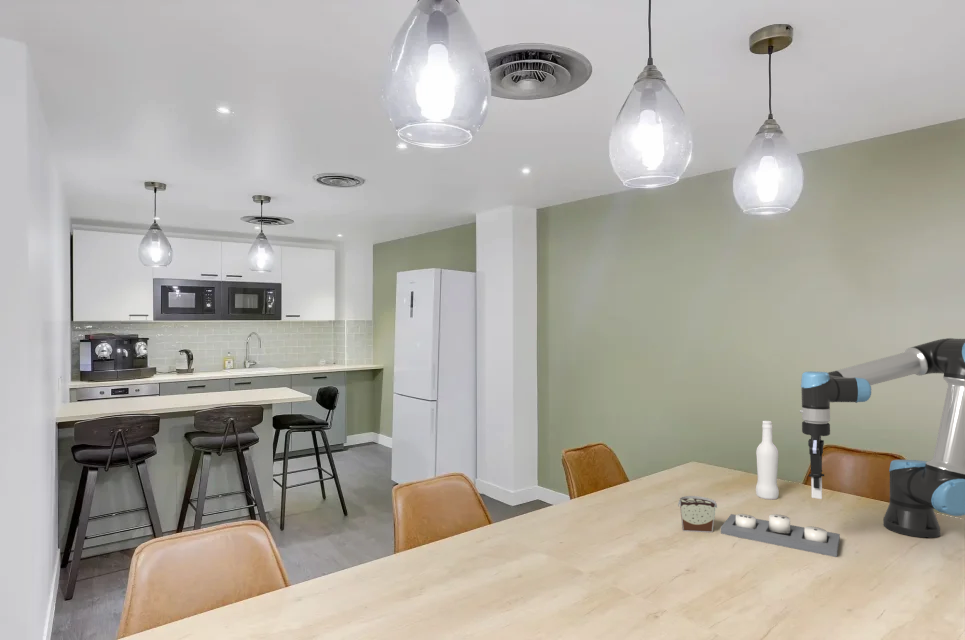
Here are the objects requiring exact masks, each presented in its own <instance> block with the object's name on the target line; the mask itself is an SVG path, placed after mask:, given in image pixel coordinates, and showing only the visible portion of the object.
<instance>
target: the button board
mask: <svg viewBox="0 0 965 640" xmlns="http://www.w3.org/2000/svg"><path fill="white" fill-rule="evenodd" d="M736 515H737V514H733V513H731V514H730V515H729V516H728V517H727V519H726V520H725V521H724V522H723V524H722V525H721V526H720V534H722V535H726V536H732V537H736V538H741V539H745V540H746V539H747V540H751V541H755V542H761V543H766V544H771V545H775V546H781V547H786V548H789V549H790V548H791V549H796V550H800V551H806V552H810V553H815V554H818V555H819V554H820V555H824V556H825V555H826V556H830V557H835V558H837V556H838V552H839V547H840V539H841V537H840V536H841V534H840V533H836V532H832V531H831V532H830V531H827V543H823V542H818V541H812V540H807V539H804V528H805V527H806V526H805V527H804V526H797V525H793V524H790V533H777V532H774V531H771V530H770V529H769V520H765V519H760V518H756V529H750V528H745V527H740V526H736Z"/></svg>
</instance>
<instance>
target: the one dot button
mask: <svg viewBox="0 0 965 640" xmlns="http://www.w3.org/2000/svg"><path fill="white" fill-rule="evenodd" d="M827 532H828V531H827V530H826V529H824V528H821V527H819V526H818V527H816V526H805V528H804V539H807V540H812V541H818V542H823V543H827Z"/></svg>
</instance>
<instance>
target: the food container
mask: <svg viewBox="0 0 965 640" xmlns="http://www.w3.org/2000/svg"><path fill="white" fill-rule="evenodd" d="M716 502H717V501H715V500H714V499H712V498H708V497H705V496H699V495H685V496H681V497H680V498H679V500H678V503H677V506H678V507H680V517H681V526H682V527H681V529H682V532H694V533H695V532H697V533H699V532H700V533H713V531H714V522H715V515H716V509H718V504H717V503H716Z"/></svg>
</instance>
